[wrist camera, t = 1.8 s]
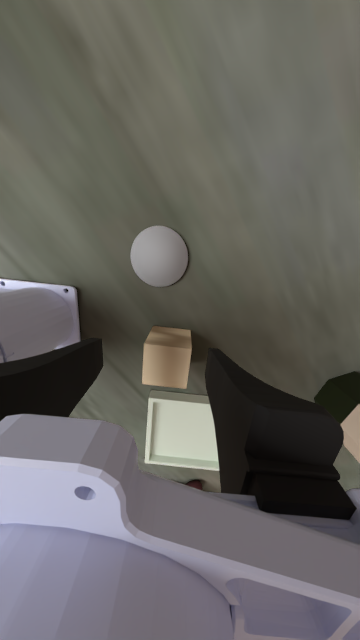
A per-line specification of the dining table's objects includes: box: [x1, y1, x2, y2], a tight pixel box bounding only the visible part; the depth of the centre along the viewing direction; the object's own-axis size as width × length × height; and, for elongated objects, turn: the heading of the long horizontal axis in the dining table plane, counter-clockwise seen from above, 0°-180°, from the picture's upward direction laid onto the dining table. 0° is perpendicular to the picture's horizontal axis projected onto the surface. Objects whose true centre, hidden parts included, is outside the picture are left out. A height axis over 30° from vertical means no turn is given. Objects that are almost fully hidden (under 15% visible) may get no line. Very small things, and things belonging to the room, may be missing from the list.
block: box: [142, 326, 192, 389], centre depth 20 cm, size 4×4×5 cm
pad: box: [131, 226, 188, 287], centre depth 19 cm, size 6×6×1 cm
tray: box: [145, 390, 219, 471], centre depth 25 cm, size 12×12×2 cm
